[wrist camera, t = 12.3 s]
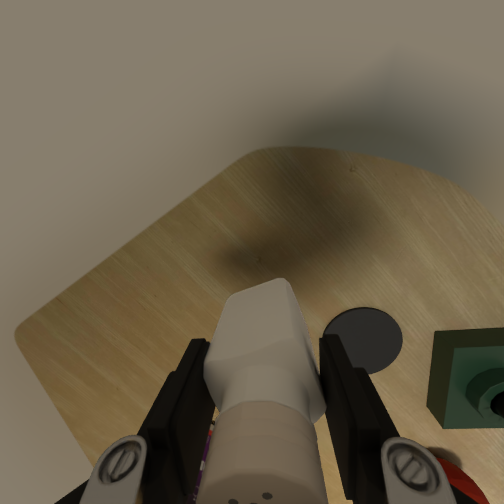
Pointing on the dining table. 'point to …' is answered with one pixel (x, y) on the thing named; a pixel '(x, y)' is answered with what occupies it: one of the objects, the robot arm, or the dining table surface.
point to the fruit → (462, 481)
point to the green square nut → (466, 378)
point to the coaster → (367, 337)
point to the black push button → (498, 404)
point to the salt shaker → (263, 403)
